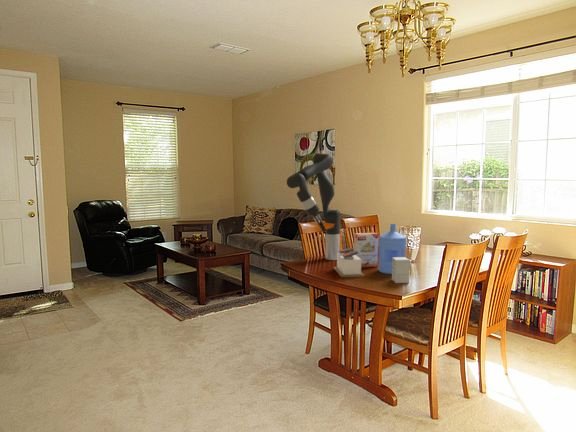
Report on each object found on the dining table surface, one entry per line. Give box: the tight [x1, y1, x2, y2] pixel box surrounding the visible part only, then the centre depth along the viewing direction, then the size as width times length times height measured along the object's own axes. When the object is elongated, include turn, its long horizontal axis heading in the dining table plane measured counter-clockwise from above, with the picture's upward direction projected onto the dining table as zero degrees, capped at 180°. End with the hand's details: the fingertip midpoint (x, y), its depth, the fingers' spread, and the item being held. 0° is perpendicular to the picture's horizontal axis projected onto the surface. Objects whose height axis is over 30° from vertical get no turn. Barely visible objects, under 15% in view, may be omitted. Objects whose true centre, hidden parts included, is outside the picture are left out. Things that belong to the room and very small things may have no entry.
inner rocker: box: [339, 247, 354, 254], centre depth 250 cm, size 4×8×2 cm, turn 95°
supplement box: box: [391, 256, 411, 284], centre depth 225 cm, size 7×7×13 cm
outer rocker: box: [343, 250, 358, 258], centre depth 239 cm, size 4×8×2 cm, turn 95°
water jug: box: [377, 223, 407, 275], centre depth 246 cm, size 16×16×28 cm
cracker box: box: [353, 232, 379, 269], centre depth 260 cm, size 14×6×21 cm, turn 105°
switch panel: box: [333, 253, 365, 278], centre depth 245 cm, size 21×13×11 cm, turn 5°
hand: (324, 230), depth 242 cm, fingers closed
